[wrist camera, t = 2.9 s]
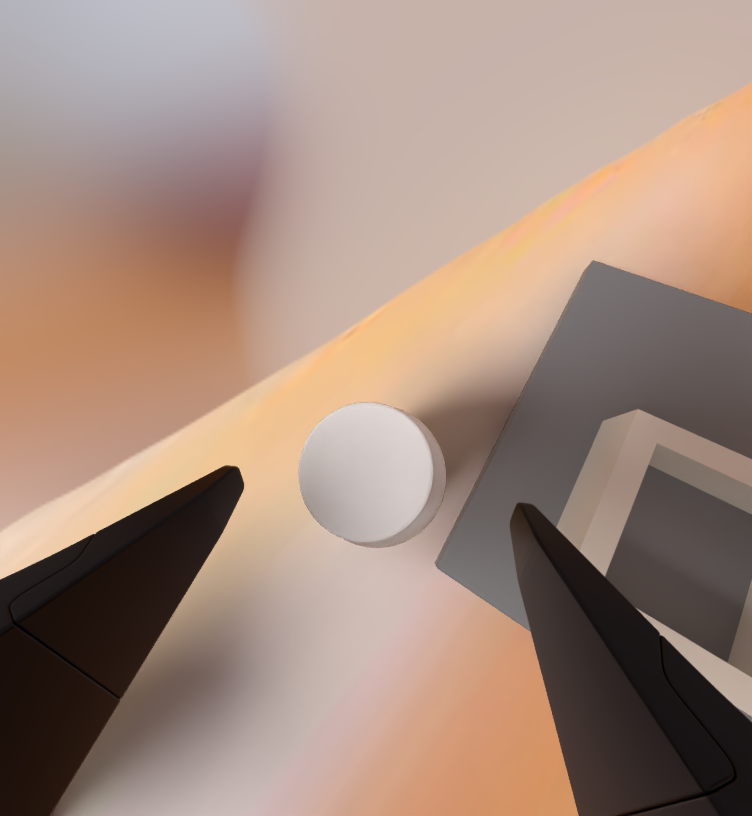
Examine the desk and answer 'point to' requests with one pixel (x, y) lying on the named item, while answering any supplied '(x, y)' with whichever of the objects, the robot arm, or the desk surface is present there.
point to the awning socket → (633, 467)
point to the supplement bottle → (372, 474)
